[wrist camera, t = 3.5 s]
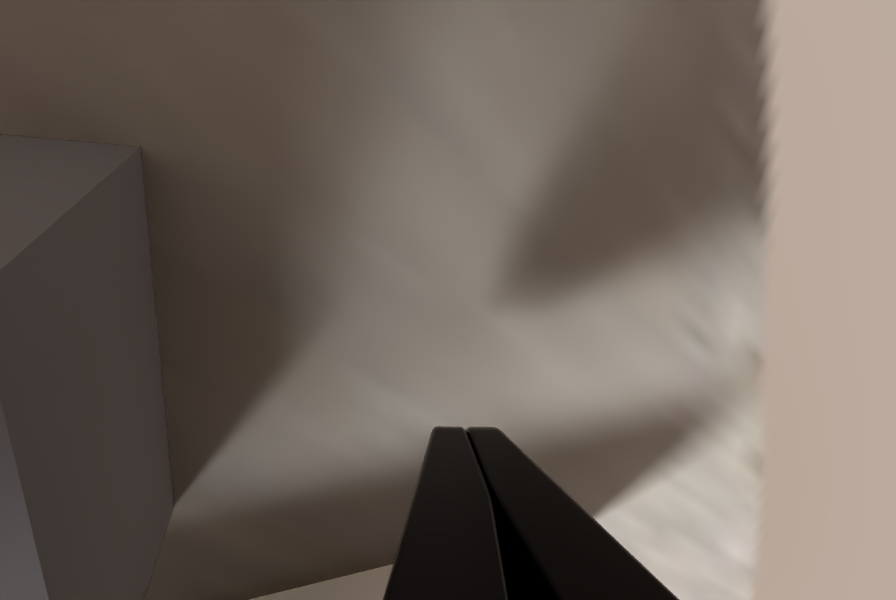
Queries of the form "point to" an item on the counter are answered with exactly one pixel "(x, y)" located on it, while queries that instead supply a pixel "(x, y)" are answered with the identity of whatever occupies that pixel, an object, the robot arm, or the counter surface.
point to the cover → (340, 588)
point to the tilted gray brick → (78, 375)
